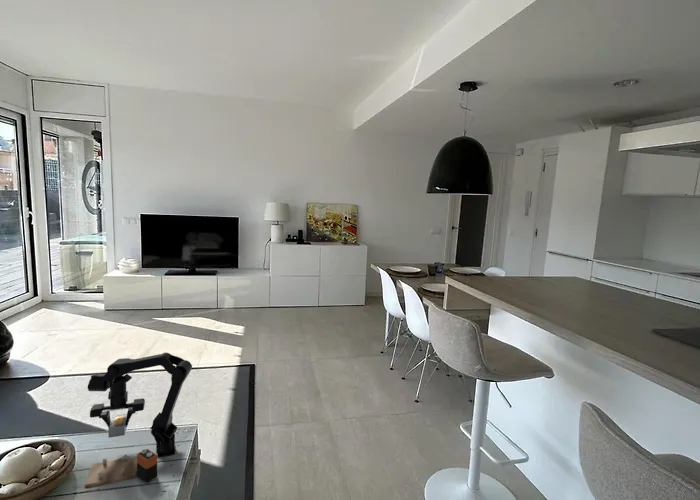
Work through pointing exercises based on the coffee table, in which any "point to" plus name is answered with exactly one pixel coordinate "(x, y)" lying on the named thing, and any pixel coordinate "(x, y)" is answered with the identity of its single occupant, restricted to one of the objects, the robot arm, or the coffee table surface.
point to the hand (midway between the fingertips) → (118, 427)
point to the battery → (146, 465)
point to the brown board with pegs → (112, 471)
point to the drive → (117, 425)
